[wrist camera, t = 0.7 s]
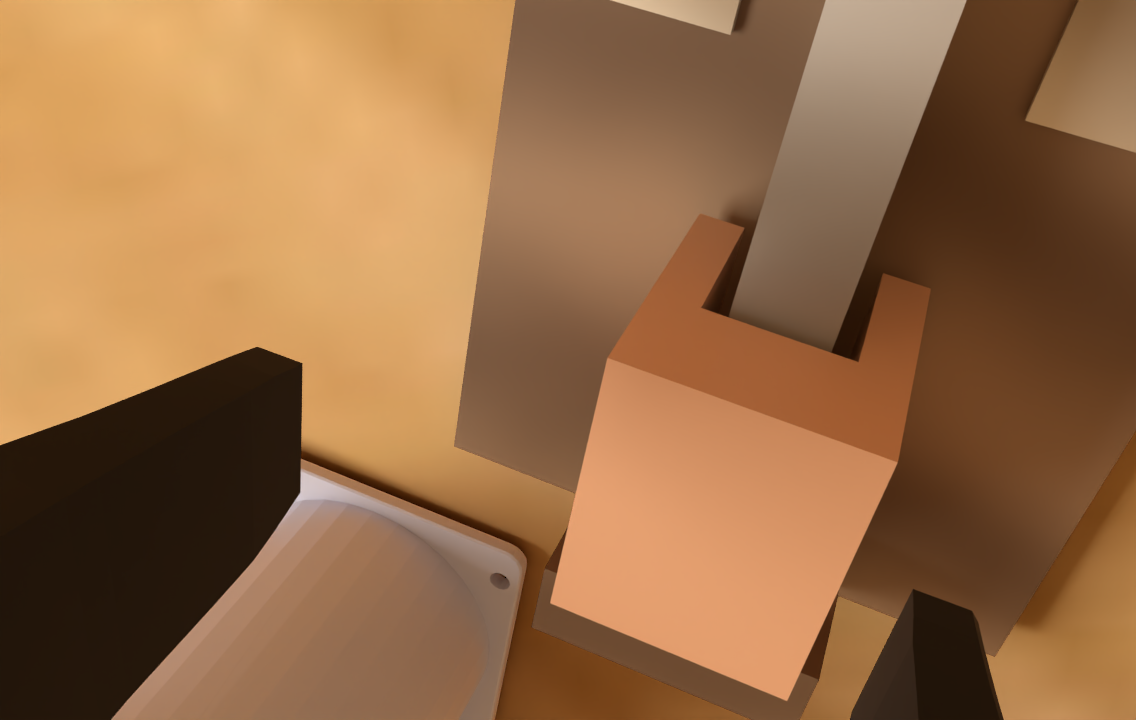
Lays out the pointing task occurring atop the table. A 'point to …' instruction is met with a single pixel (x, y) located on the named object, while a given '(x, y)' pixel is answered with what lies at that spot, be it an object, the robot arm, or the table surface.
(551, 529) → the table surface
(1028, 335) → the rail board
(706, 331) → the sleeve
